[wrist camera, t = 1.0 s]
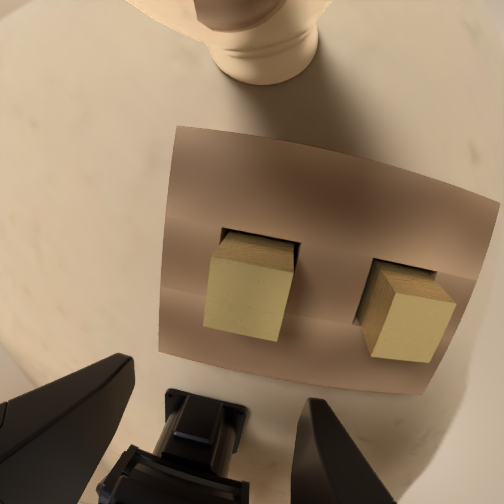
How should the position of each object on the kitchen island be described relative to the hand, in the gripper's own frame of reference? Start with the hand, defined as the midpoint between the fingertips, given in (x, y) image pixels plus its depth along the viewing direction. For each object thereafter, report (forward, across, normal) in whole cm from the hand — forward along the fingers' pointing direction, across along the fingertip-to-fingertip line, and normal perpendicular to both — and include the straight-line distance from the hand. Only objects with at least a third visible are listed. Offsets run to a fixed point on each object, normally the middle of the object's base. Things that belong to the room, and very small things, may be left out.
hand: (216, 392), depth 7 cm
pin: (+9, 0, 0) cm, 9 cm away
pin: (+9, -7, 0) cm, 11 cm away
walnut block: (+12, -4, 0) cm, 12 cm away
